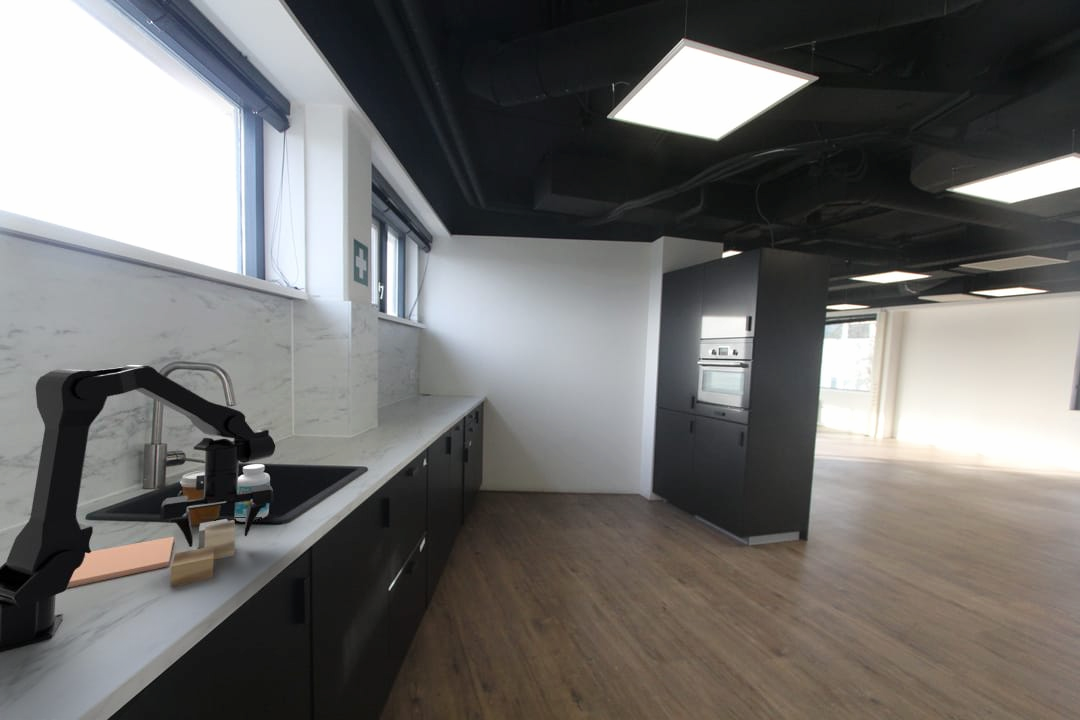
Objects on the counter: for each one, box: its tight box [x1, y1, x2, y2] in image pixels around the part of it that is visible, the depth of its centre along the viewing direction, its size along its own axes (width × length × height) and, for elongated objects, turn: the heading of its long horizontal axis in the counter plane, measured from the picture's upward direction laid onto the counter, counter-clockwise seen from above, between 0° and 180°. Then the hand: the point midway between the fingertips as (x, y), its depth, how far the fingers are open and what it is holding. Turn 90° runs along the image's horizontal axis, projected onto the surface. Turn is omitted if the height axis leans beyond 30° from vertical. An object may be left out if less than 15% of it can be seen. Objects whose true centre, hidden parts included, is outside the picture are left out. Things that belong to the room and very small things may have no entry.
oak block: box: [170, 546, 215, 588], centre depth 79 cm, size 6×6×4 cm
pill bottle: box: [234, 463, 271, 523], centre depth 108 cm, size 8×7×14 cm
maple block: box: [203, 519, 236, 561], centre depth 88 cm, size 5×5×6 cm
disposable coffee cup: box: [179, 469, 222, 526], centre depth 105 cm, size 10×10×12 cm
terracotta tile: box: [66, 536, 175, 589], centre depth 83 cm, size 14×14×1 cm
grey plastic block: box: [197, 518, 228, 549], centre depth 94 cm, size 5×5×4 cm
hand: (219, 540), depth 88 cm, fingers open, 9 cm apart
